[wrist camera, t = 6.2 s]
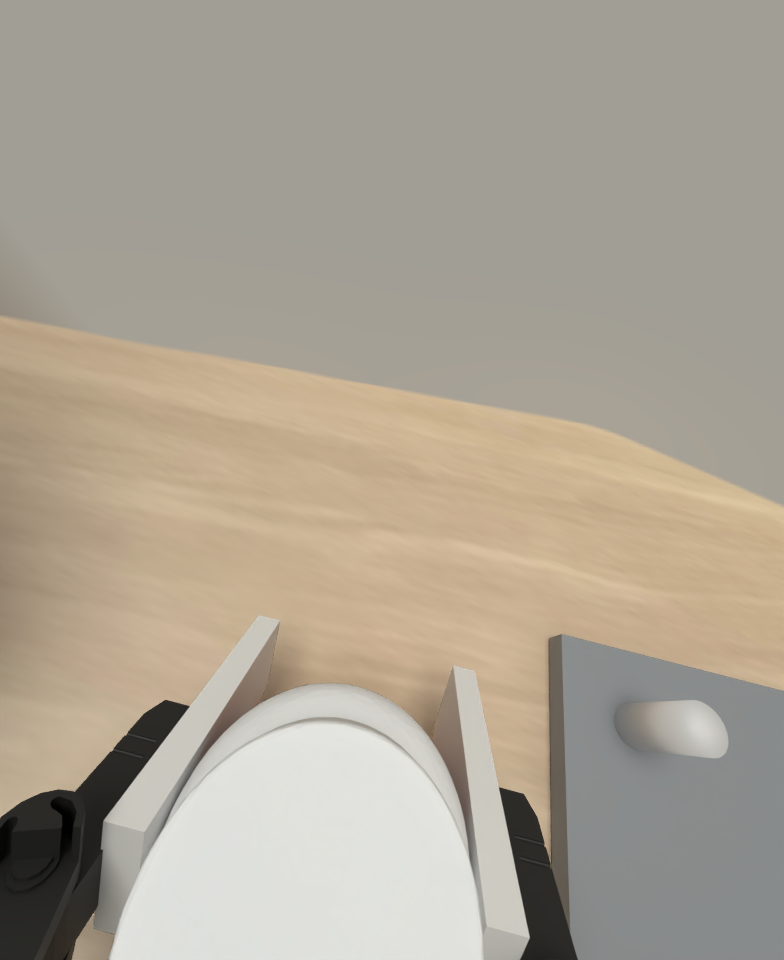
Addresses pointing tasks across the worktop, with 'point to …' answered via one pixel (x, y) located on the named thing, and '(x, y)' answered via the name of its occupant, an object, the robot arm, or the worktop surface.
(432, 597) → the worktop surface
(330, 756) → the pill bottle
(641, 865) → the peg board
